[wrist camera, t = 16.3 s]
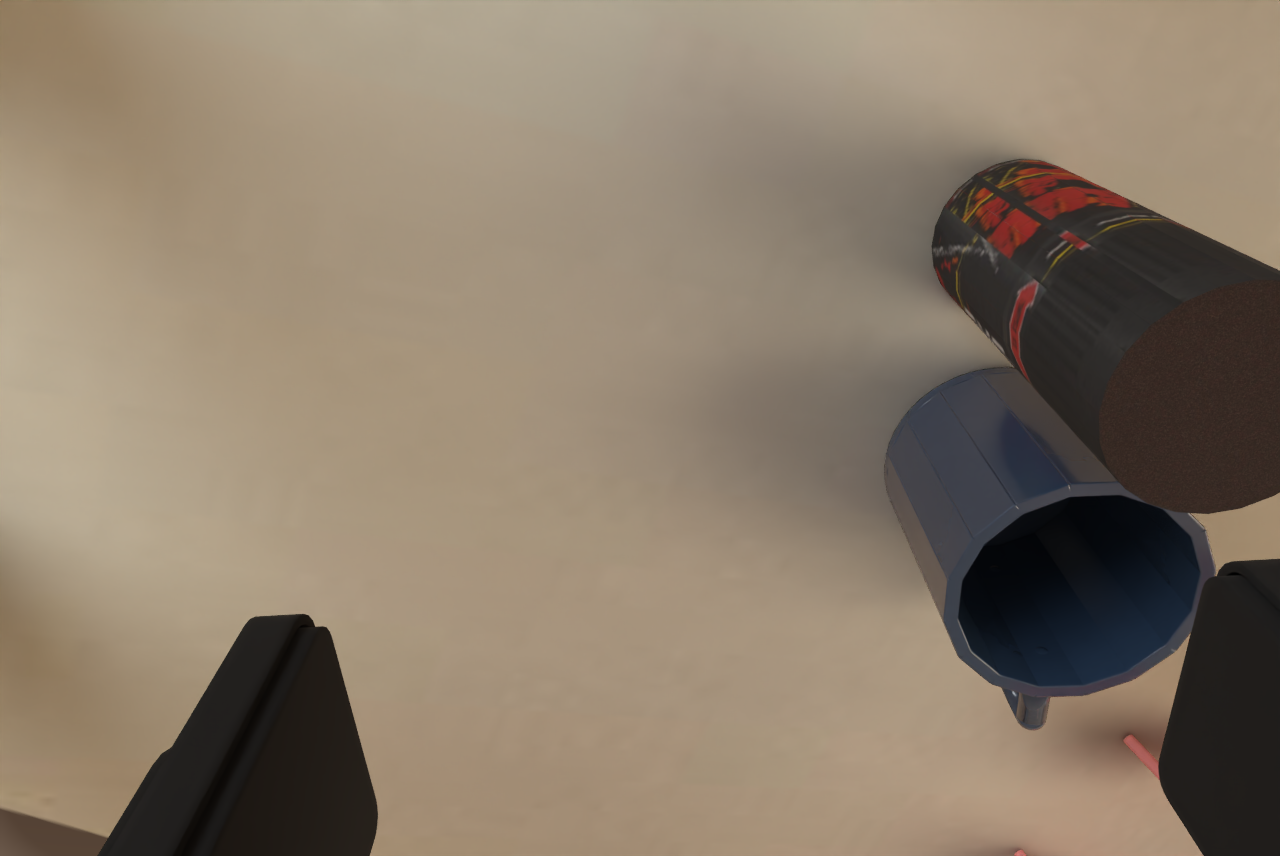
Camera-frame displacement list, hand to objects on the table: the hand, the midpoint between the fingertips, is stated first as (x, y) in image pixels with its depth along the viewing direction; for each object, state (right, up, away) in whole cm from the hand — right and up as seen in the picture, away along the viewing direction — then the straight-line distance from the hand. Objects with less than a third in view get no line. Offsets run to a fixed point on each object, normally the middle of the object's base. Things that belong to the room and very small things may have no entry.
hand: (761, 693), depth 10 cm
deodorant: (+13, +10, +25) cm, 30 cm away
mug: (+13, 0, +30) cm, 32 cm away
